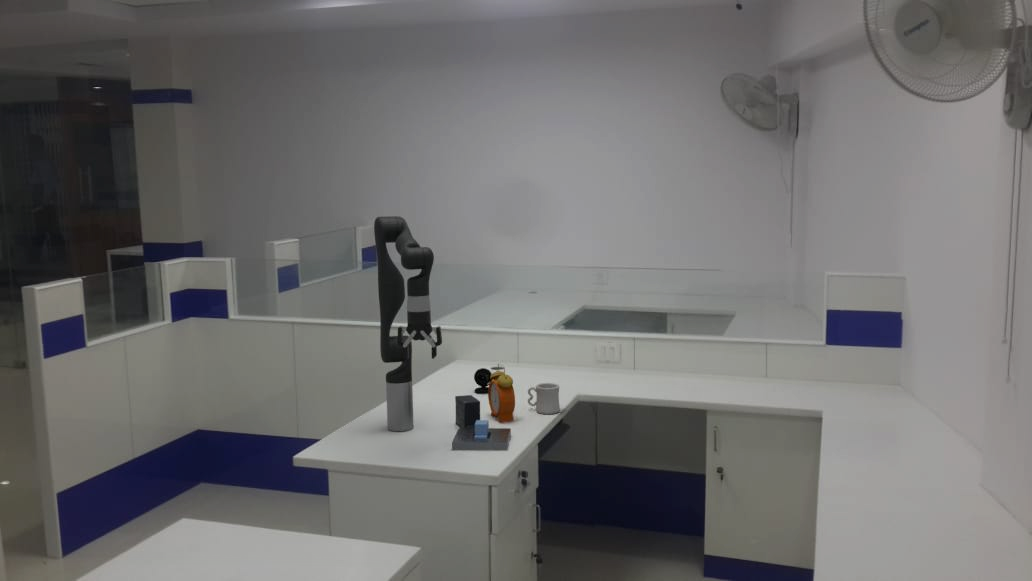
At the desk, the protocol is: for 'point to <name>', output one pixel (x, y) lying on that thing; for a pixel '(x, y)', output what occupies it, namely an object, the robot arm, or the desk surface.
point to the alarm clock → (501, 396)
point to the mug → (546, 398)
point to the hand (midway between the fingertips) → (420, 358)
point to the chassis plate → (494, 442)
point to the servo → (481, 429)
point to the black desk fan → (482, 380)
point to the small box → (467, 411)
